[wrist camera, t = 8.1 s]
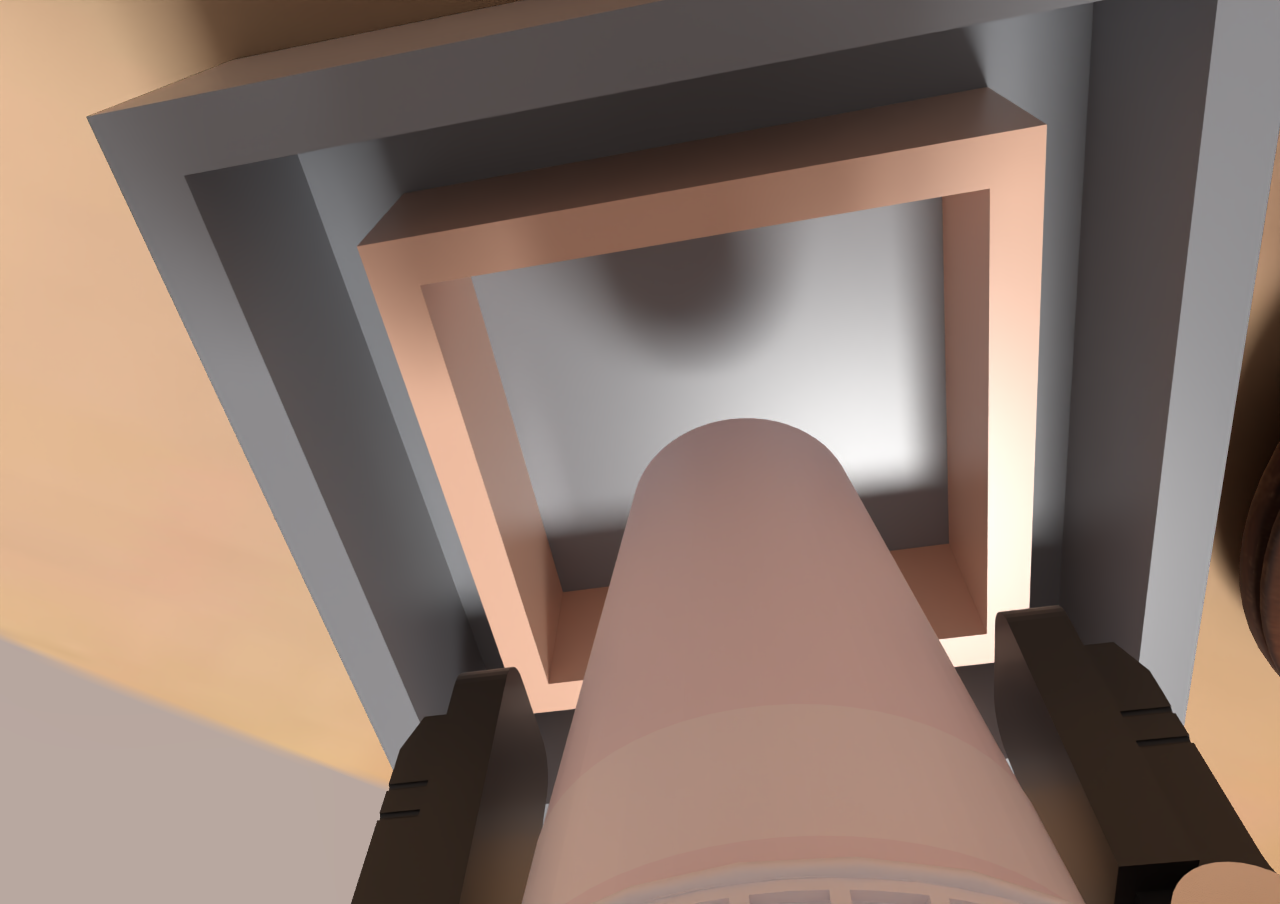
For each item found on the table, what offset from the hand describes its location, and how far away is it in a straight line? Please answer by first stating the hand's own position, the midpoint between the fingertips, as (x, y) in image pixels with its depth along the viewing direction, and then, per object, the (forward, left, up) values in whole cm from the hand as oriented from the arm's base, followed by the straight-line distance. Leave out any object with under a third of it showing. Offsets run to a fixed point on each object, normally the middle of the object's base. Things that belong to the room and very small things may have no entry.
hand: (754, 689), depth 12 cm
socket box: (0, 0, -9) cm, 9 cm away
